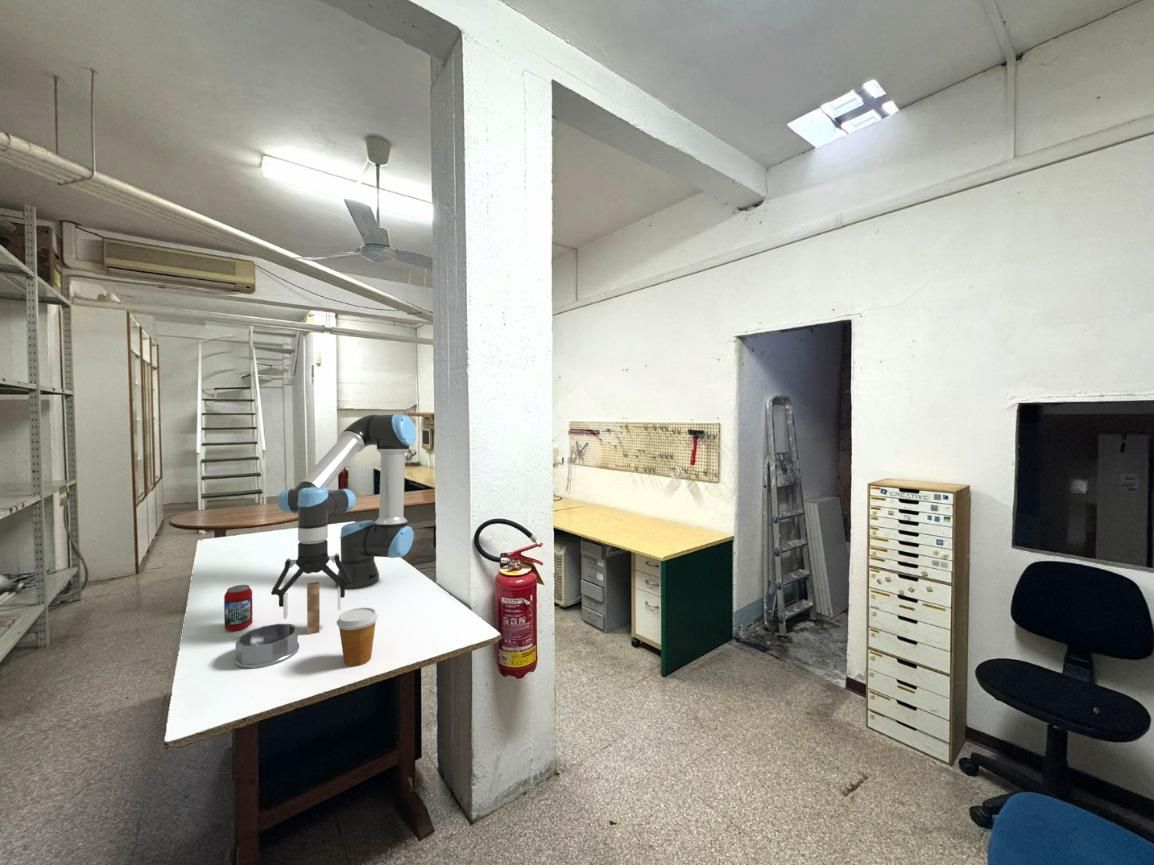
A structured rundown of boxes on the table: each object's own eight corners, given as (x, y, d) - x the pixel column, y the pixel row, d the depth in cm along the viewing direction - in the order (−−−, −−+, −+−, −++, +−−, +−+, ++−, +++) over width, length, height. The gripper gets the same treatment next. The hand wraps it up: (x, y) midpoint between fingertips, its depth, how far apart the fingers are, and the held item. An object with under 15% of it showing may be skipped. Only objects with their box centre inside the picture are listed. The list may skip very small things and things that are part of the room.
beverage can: (222, 634, 131) (221, 593, 131) (227, 625, 137) (226, 586, 137) (250, 629, 134) (250, 589, 134) (254, 621, 140) (254, 582, 140)
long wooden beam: (319, 628, 135) (319, 581, 135) (319, 632, 133) (318, 584, 133) (308, 630, 134) (307, 583, 134) (307, 634, 131) (307, 586, 131)
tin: (300, 637, 129) (300, 619, 129) (296, 660, 117) (296, 640, 117) (240, 648, 123) (240, 629, 123) (229, 674, 110) (229, 652, 110)
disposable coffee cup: (346, 651, 122) (346, 607, 121) (383, 650, 122) (382, 606, 122) (330, 670, 112) (329, 622, 112) (370, 669, 113) (369, 621, 113)
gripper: (359, 533, 142) (359, 601, 142) (263, 542, 131) (263, 615, 131) (360, 538, 135) (360, 609, 136) (259, 548, 124) (259, 625, 124)
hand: (312, 612), depth 133 cm, fingers open, 13 cm apart
